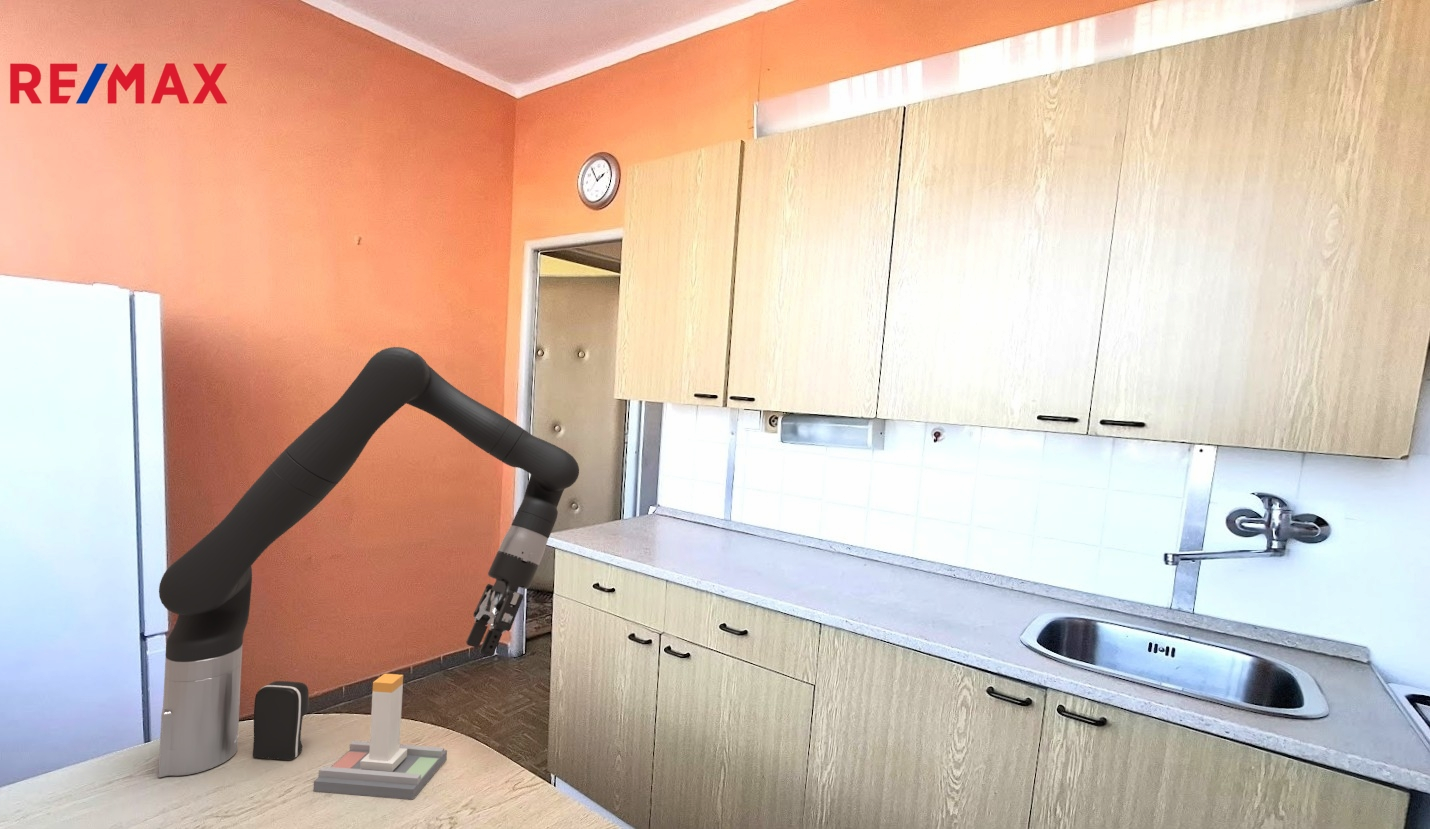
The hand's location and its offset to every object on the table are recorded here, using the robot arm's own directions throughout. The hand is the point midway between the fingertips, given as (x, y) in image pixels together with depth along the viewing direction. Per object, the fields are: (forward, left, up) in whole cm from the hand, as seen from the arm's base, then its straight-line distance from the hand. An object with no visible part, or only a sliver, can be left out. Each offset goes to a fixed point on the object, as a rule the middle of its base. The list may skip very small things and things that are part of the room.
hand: (478, 650), depth 99 cm
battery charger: (-25, +16, -17) cm, 35 cm away
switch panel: (-13, +1, -17) cm, 22 cm away
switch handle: (-13, +1, -15) cm, 20 cm away
